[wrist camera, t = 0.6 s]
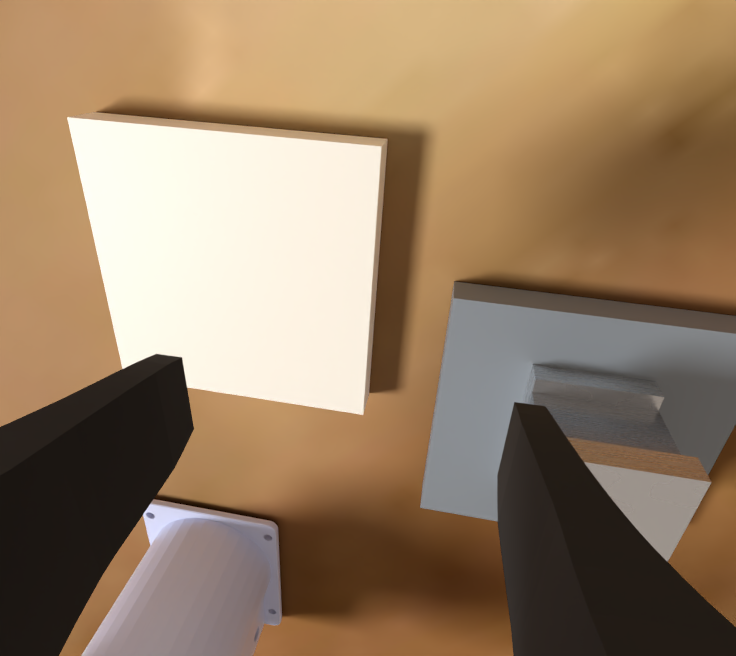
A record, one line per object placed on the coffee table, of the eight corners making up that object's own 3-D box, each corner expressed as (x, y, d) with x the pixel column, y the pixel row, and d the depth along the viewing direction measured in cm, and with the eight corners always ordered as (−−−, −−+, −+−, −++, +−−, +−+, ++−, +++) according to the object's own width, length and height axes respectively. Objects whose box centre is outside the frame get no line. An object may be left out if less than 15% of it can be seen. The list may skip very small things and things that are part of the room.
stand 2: (656, 523, 24) (666, 551, 23) (422, 483, 25) (420, 507, 24) (759, 318, 18) (781, 339, 17) (454, 281, 20) (453, 298, 18)
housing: (604, 502, 22) (638, 615, 18) (500, 484, 22) (508, 590, 18) (655, 380, 19) (711, 482, 14) (532, 363, 19) (551, 456, 15)
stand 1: (369, 394, 23) (363, 414, 22) (142, 359, 24) (124, 377, 23) (387, 138, 18) (381, 146, 16) (94, 112, 19) (67, 117, 18)
